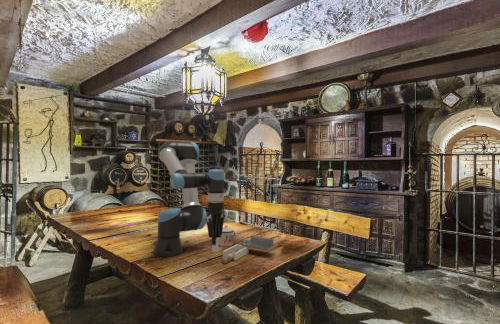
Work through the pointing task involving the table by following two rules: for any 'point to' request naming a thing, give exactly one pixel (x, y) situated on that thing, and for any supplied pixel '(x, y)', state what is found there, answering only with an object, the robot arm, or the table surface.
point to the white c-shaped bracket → (241, 251)
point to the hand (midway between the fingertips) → (215, 251)
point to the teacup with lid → (226, 236)
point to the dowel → (227, 258)
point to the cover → (259, 243)
